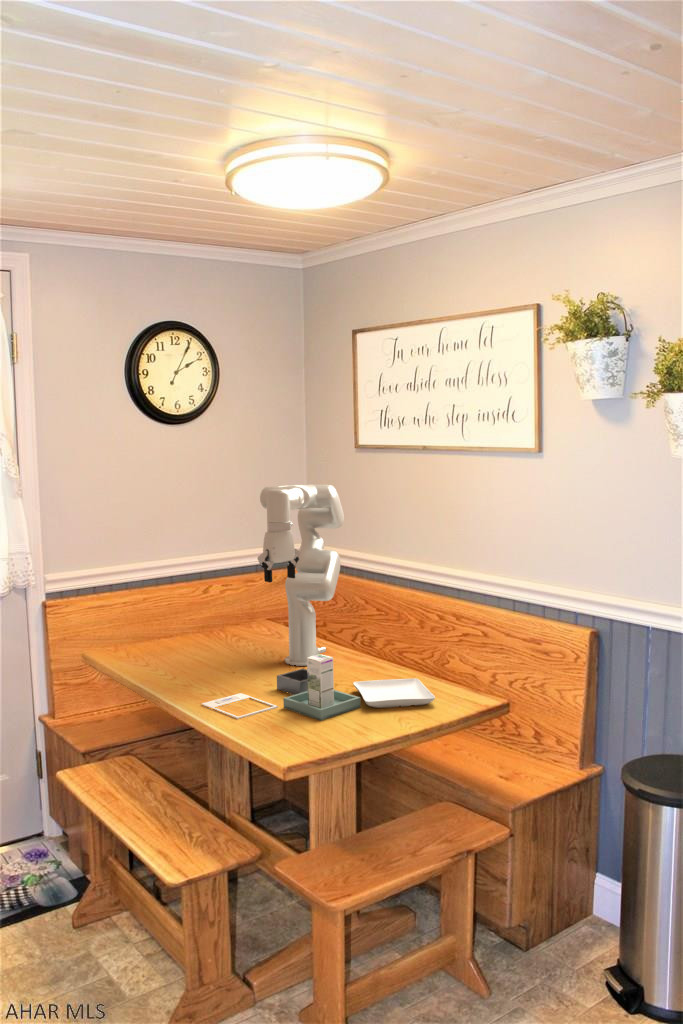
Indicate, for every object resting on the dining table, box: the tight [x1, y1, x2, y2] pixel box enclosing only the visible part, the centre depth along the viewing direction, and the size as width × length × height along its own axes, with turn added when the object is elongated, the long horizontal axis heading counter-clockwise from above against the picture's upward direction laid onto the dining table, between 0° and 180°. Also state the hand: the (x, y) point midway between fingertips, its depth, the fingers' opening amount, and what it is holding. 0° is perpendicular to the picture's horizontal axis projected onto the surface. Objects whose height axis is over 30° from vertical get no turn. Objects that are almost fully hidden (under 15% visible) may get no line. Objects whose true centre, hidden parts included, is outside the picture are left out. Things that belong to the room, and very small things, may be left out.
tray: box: [283, 689, 362, 722], centre depth 251 cm, size 16×16×3 cm
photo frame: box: [201, 692, 279, 720], centre depth 254 cm, size 15×1×18 cm
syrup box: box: [306, 653, 335, 709], centre depth 251 cm, size 6×6×14 cm
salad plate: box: [352, 677, 436, 709], centre depth 260 cm, size 21×21×3 cm
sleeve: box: [276, 668, 308, 695], centre depth 270 cm, size 11×11×4 cm
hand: (280, 579), depth 277 cm, fingers open, 9 cm apart
